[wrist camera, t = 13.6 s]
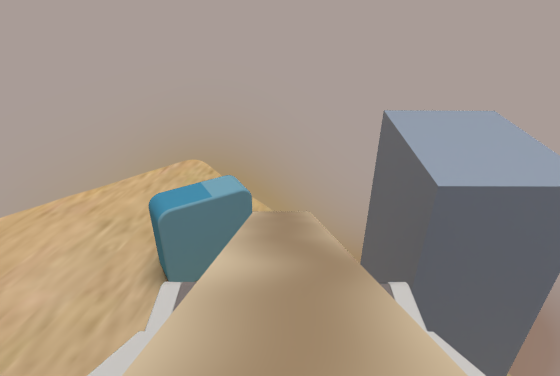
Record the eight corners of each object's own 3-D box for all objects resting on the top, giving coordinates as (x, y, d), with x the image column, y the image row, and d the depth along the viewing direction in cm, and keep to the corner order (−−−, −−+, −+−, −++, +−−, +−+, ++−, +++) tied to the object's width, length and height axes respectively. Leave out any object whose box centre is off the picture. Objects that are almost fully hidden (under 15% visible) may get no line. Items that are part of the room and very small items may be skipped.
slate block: (373, 438, 34) (438, 186, 20) (350, 326, 44) (384, 110, 31) (474, 437, 34) (604, 186, 21) (427, 326, 44) (494, 111, 31)
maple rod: (119, 725, 4) (118, 380, 4) (253, 267, 24) (253, 211, 24) (468, 723, 4) (472, 380, 4) (309, 267, 24) (309, 211, 24)
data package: (240, 242, 57) (236, 171, 51) (254, 259, 54) (252, 186, 48) (161, 270, 52) (145, 195, 46) (171, 291, 49) (156, 214, 42)
